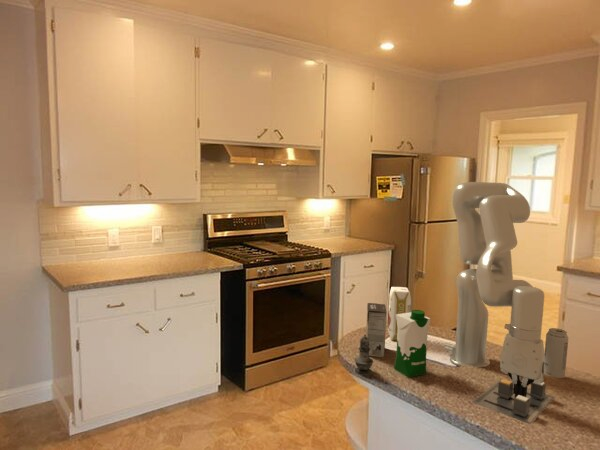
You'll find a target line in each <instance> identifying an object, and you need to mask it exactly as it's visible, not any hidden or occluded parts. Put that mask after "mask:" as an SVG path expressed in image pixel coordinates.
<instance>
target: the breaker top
mask: <svg viewBox="0 0 600 450" xmlns="http://www.w3.org/2000/svg"><path fill="white" fill-rule="evenodd" d="M546 386H547V383H545V382H544V381H543V383H541V384H539V383H531V384H530V389H531V392H530V396H532V397H535V398H538V399H541V400H542V399H543V397H544V396H545V395H546V394H547V393H546V389H547V387H546Z"/></svg>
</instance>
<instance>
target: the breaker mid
mask: <svg viewBox="0 0 600 450" xmlns="http://www.w3.org/2000/svg"><path fill="white" fill-rule="evenodd" d="M497 395H498V396H501V397H503V398H506V399H509V398H510V397H511V396H512V395H513V382H512V380H511V381H510V380H506V379H503V378H502V379H501V381H500V382H499V386H498V393H497Z"/></svg>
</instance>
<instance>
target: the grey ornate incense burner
mask: <svg viewBox="0 0 600 450" xmlns="http://www.w3.org/2000/svg"><path fill="white" fill-rule="evenodd" d="M358 350H359V355H358V356H357V357H355V358H354V362H355V365H356V367H357V368H355V369H354V372H355V373H356V374H358V375H361V376H369V375H371V374H372V373H373V371H372V369H371V368H372V365H373V364H374V359H372V358H371V357H370V356H369V350H370V348H369V338H367V337H366V334H364V335H363V336H362V337H360V339H359V347H358Z"/></svg>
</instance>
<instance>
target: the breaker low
mask: <svg viewBox="0 0 600 450" xmlns="http://www.w3.org/2000/svg"><path fill="white" fill-rule="evenodd" d="M529 407H530V399H529V398H526V397H523V396H520V395H518V396H516V397H515V398H514V408H513V412H512V413H515V414H518V415H521V416H523V417H525V416H526V415H527V414H528V413H529V412H530V410H529Z"/></svg>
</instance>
